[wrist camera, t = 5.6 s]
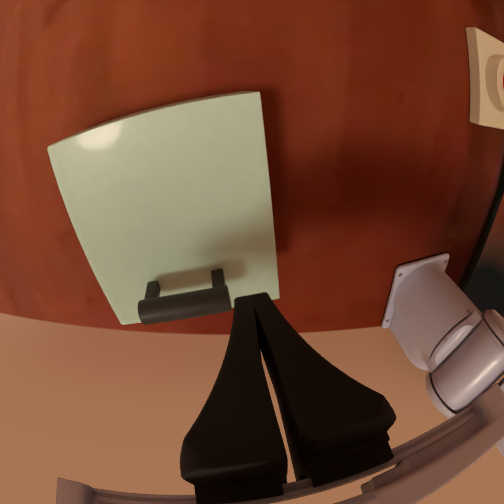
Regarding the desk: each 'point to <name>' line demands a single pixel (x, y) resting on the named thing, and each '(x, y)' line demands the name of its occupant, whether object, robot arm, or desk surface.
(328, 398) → the robot arm
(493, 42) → the control block
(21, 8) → the desk surface
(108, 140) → the freezer lid
